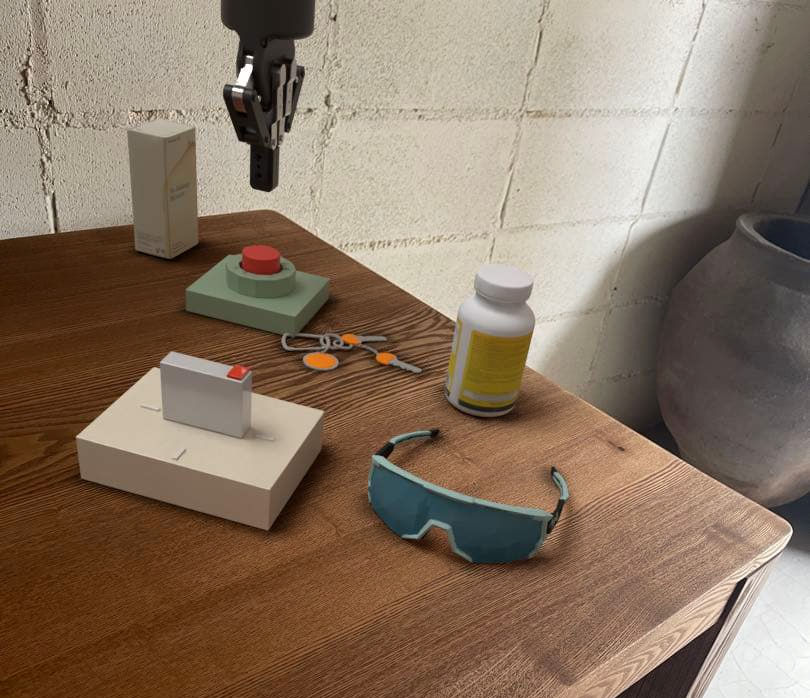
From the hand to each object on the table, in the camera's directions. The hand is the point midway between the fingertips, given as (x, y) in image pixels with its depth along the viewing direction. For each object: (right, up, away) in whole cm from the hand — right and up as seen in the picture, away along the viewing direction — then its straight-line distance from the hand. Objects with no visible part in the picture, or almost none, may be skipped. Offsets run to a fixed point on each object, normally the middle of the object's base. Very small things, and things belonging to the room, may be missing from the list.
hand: (263, 188), depth 78 cm
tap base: (-2, -26, -15) cm, 30 cm away
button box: (-2, -9, +7) cm, 11 cm away
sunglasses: (+17, -29, -14) cm, 37 cm away
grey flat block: (-1, -24, -17) cm, 29 cm away
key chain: (+8, -15, +2) cm, 17 cm away
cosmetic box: (-13, 0, +15) cm, 20 cm away
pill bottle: (+19, -20, -2) cm, 28 cm away
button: (-1, -6, +5) cm, 8 cm away
